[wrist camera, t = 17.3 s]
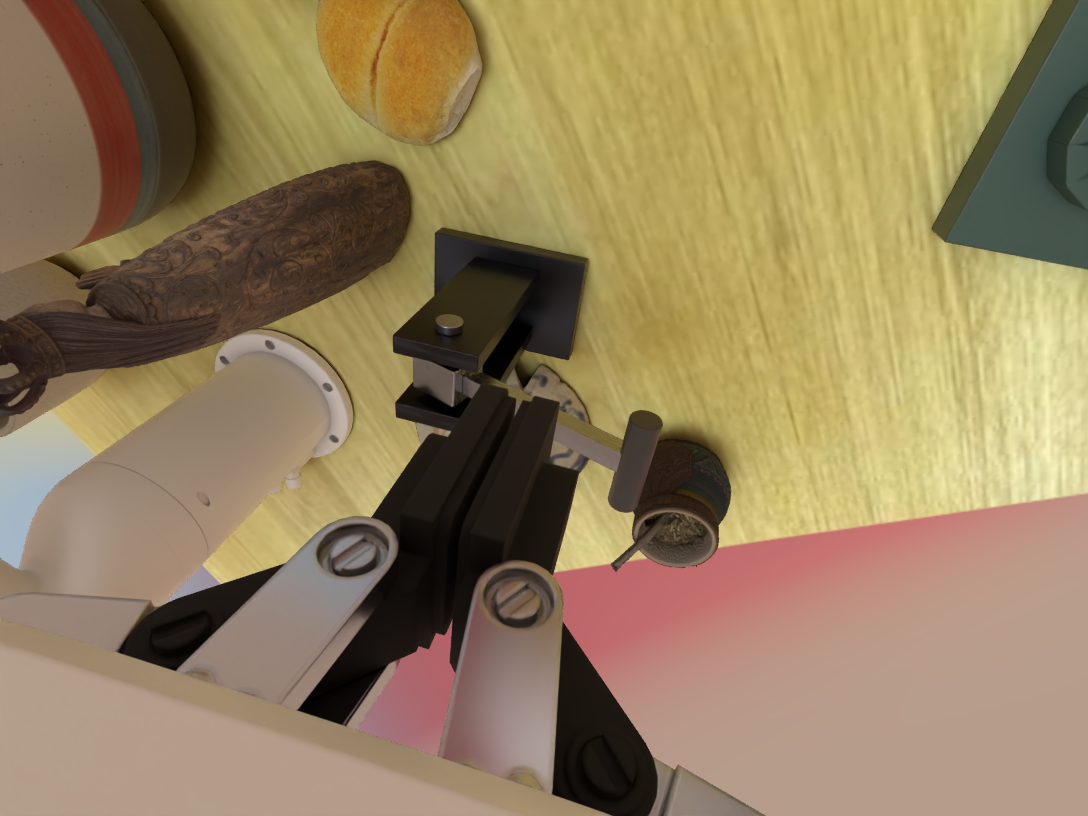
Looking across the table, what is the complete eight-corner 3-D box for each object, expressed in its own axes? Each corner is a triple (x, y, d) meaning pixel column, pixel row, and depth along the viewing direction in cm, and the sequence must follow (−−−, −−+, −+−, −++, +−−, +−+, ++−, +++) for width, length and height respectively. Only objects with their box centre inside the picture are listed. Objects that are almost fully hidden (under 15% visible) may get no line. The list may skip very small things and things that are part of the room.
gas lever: (672, 413, 24) (650, 440, 23) (646, 495, 27) (624, 524, 26) (444, 312, 29) (411, 327, 28) (442, 390, 32) (412, 408, 31)
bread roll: (363, -82, 29) (319, -96, 25) (506, 33, 30) (481, 33, 27) (316, 73, 33) (274, 78, 30) (441, 167, 35) (413, 180, 31)
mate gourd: (746, 485, 42) (753, 592, 34) (655, 510, 46) (643, 611, 38) (706, 412, 40) (704, 509, 32) (613, 444, 43) (590, 539, 35)
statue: (303, 143, 36) (-212, 285, 16) (412, 163, 35) (6, 342, 15) (319, 270, 41) (-57, 499, 21) (415, 291, 40) (115, 553, 20)
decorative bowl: (424, 480, 51) (585, 514, 48) (406, 508, 48) (576, 545, 45) (406, 332, 43) (600, 361, 40) (382, 354, 40) (590, 387, 37)
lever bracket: (588, 258, 36) (538, 351, 25) (572, 352, 40) (522, 465, 29) (441, 227, 37) (336, 303, 27) (440, 321, 41) (348, 419, 31)
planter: (100, 248, 45) (-49, 301, 36) (156, 379, 52) (43, 451, 43) (-21, 232, 47) (-188, 278, 38) (49, 360, 54) (-79, 424, 46)
